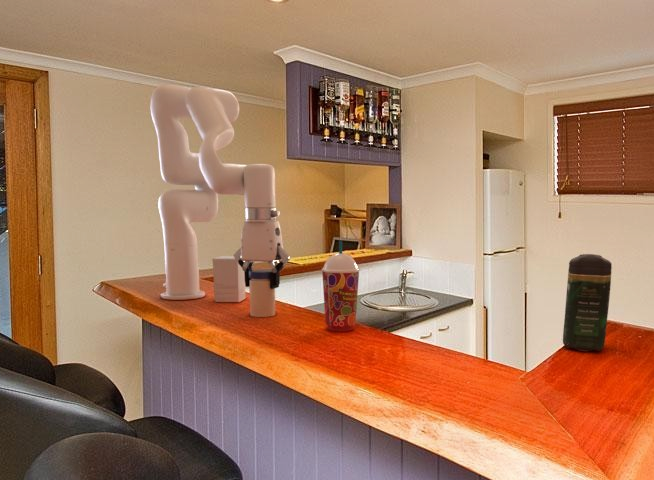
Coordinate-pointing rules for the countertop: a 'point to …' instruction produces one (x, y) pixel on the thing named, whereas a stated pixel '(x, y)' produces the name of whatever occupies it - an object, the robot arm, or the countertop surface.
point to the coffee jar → (587, 302)
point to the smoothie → (340, 291)
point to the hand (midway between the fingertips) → (262, 286)
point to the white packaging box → (228, 280)
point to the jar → (261, 298)
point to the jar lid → (259, 274)
